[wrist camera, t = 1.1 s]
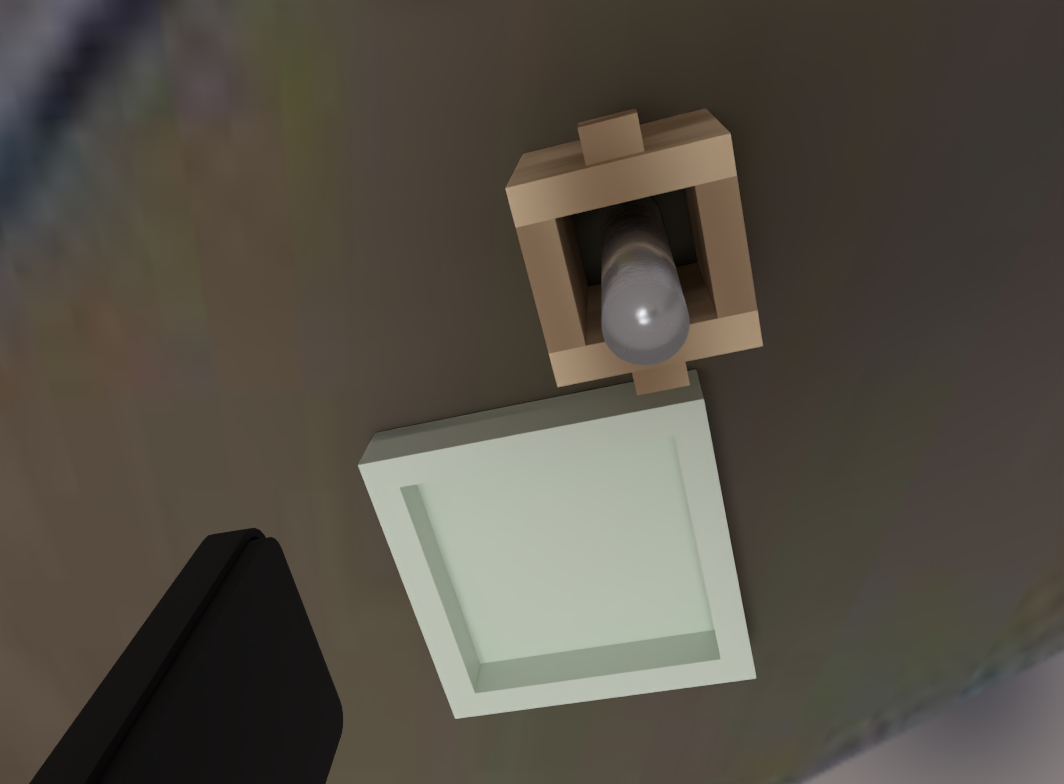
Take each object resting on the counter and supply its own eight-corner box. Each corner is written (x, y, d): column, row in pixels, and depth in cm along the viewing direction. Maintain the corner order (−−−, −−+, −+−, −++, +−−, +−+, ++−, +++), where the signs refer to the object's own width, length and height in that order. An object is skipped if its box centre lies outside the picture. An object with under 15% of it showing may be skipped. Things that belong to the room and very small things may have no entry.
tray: (696, 368, 30) (703, 398, 28) (746, 634, 35) (756, 678, 33) (374, 432, 32) (358, 465, 30) (464, 675, 37) (455, 718, 35)
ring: (700, 75, 26) (724, 93, 21) (738, 312, 29) (767, 377, 24) (515, 122, 27) (495, 150, 22) (571, 347, 30) (565, 416, 25)
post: (654, 185, 28) (681, 274, 19) (666, 243, 28) (696, 356, 19) (595, 199, 28) (593, 293, 19) (608, 256, 29) (611, 372, 20)
